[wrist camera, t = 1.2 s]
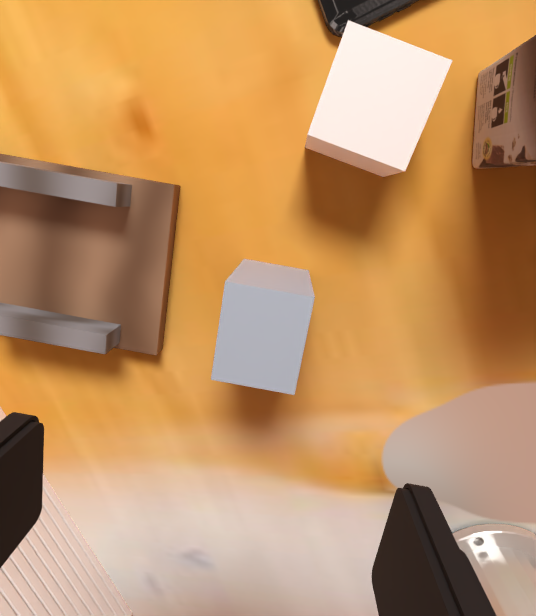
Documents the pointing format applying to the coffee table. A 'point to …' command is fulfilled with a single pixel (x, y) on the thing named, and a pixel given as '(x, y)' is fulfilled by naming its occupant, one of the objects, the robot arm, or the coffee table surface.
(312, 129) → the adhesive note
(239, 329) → the slate block
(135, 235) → the display stand
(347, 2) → the phone
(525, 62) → the coffee box
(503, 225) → the coffee table surface
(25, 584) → the stack of papers
